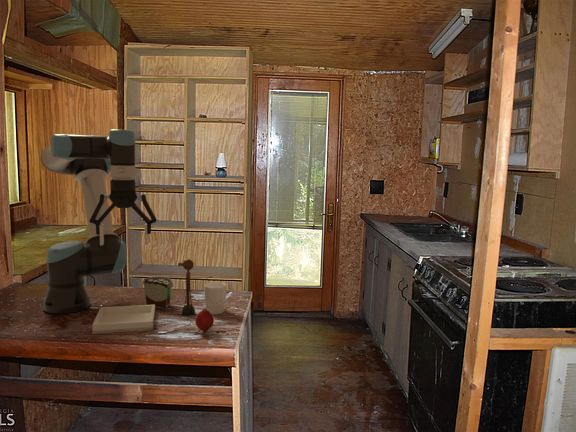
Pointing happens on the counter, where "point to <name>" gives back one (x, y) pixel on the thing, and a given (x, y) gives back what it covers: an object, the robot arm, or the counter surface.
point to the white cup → (215, 297)
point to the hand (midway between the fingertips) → (124, 244)
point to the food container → (158, 291)
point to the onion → (204, 320)
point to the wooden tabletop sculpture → (187, 289)
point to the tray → (124, 319)
